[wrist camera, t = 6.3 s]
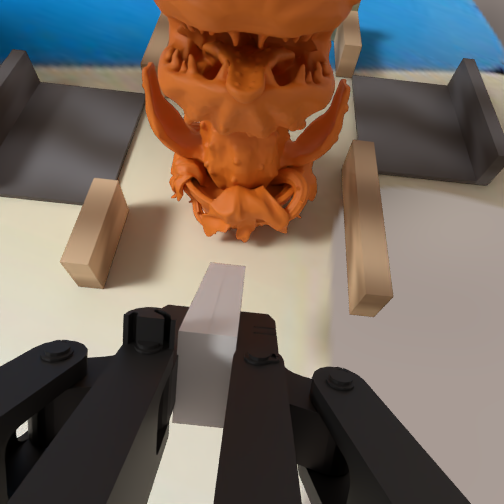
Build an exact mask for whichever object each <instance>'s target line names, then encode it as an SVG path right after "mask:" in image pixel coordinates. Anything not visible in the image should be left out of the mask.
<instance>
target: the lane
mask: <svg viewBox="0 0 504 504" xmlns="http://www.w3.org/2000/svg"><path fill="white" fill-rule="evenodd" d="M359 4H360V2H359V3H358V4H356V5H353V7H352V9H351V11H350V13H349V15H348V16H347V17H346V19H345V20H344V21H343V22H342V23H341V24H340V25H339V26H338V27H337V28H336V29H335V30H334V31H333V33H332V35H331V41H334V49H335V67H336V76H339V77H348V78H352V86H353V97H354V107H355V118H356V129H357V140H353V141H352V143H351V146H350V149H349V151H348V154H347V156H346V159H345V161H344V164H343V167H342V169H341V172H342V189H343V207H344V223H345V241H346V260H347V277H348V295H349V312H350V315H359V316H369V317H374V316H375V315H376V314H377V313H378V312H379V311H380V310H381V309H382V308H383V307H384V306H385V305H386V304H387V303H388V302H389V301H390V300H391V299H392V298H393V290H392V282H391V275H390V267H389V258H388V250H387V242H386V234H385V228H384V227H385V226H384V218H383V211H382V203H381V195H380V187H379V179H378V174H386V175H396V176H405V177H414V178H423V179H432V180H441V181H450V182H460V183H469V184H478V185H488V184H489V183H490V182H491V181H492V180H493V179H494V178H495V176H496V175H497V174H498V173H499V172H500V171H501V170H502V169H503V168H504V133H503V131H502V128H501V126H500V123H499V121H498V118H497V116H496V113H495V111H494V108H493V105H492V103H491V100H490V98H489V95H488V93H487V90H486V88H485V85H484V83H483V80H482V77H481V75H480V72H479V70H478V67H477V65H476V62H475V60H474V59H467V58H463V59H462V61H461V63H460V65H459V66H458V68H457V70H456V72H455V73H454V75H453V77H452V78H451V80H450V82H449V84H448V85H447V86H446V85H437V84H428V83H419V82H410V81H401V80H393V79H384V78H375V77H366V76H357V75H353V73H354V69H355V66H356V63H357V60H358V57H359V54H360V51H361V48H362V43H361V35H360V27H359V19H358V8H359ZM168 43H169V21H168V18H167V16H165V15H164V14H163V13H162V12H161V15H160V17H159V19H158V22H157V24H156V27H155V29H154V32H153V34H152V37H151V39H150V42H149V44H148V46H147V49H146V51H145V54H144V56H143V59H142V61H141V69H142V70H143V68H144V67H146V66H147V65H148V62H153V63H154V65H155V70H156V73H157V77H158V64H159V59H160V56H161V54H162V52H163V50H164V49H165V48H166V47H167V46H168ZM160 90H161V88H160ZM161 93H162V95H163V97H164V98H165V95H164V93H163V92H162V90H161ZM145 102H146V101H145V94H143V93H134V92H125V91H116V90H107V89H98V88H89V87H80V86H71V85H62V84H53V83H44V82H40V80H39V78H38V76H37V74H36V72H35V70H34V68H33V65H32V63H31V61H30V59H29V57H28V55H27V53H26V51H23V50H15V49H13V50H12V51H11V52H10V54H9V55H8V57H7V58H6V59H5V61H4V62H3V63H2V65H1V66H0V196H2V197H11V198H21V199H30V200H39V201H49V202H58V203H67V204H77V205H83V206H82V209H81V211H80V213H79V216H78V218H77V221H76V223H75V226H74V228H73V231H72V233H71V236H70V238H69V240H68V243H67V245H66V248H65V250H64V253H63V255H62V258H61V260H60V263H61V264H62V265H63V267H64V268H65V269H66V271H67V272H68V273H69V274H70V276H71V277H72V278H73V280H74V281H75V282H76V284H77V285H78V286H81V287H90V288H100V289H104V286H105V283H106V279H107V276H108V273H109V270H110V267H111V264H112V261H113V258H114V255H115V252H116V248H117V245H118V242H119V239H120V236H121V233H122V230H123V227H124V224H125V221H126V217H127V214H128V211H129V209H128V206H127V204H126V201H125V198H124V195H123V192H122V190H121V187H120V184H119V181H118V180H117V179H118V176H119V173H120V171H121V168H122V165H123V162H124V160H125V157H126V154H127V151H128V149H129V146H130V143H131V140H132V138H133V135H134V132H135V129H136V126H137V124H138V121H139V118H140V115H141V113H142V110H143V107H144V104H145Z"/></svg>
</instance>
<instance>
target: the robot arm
mask: <svg viewBox="0 0 504 504" xmlns="http://www.w3.org/2000/svg"><path fill="white" fill-rule="evenodd" d="M244 275H245V266H239V265H230V264H221V263H212V262H210V265H209V267H208V269H207V271H206V273H205V275H204V277H203V280H202V282H201V284H200V286H199V288H198V290H197V292H196V294H195V297H194V299H193V301H192V303H191V305H190V307H184V306H175V305H167V306H165V307H163V308H156V307H145V308H137V309H134V310H131V311H128V312H127V313H126V314H124V321H123V345H122V346H121V348H120V349H119V350H118V352H117V353H116V354H115V355H113V356H106V357H93V358H87V352H88V349H87V348H86V347H85V345H84V344H81V343H79V342H76V341H69V340H62V341H61V340H55V341H53V342H49V343H44V344H42V345H39V346H37V347H35V348H33V349H31V350H29V351H27V352H26V353H24V354H22V355H20V356H18V357H17V358H15V359H13V360H11V361H10V362H8V363H6V364H4V365H2V366H1V367H0V504H147V501H148V498H149V495H150V492H151V489H152V486H153V483H154V480H155V476H156V473H157V470H158V467H159V464H160V461H161V458H162V455H163V452H164V448H165V445H166V442H167V439H168V434H169V420H170V417H171V414H172V411H173V421H172V423H180V424H189V425H199V426H209V427H218V428H223V436H222V443H221V451H220V458H219V466H218V473H217V481H216V488H215V496H214V504H302V502H301V494H300V486H299V478H298V471H299V476H300V478H301V481H302V483H303V485H304V488H305V490H306V493H307V495H308V498H309V500H310V502H311V504H471V503H470V502H469V501H468V500H467V499H466V497H465V496H464V495H463V494H462V493H461V492H460V490H459V489H458V488H457V487H456V486H455V485H454V483H453V482H452V481H451V480H450V479H449V478H448V477H447V475H446V474H445V473H444V472H443V471H442V470H441V468H440V467H439V466H438V465H437V464H436V463H435V462H434V460H433V459H432V458H431V457H430V456H429V455H428V454H427V453H426V451H425V450H424V449H423V448H422V447H421V445H420V444H419V443H418V442H417V441H416V440H415V438H414V437H413V436H412V435H411V434H410V433H409V431H408V430H407V429H406V428H405V427H404V426H403V425H402V423H401V422H400V421H399V420H398V419H397V418H396V416H395V415H394V414H393V413H392V412H391V411H390V410H389V408H388V407H387V406H386V405H385V404H384V403H383V401H382V400H381V399H380V398H379V397H378V396H377V395H376V393H375V392H374V391H373V390H372V389H371V388H370V386H369V385H368V384H367V383H366V382H365V381H364V380H363V379H362V378H360V376H358V375H357V374H355V373H353V372H351V371H349V370H347V369H344V368H343V369H342V368H340V367H324V368H320V369H318V370H316V371H315V372H314V374H313V377H312V379H310V378H306V377H303V376H300V375H298V374H295V373H293V372H291V371H289V370H288V369H286V368H285V366H284V360H283V358H282V356H281V355H280V354H278V345H277V336H276V326H275V321H274V320H273V319H272V318H271V317H270V316H269V314H260V313H250V312H241V303H242V294H243V284H244ZM27 420H28V431H27V432H26V433H24V434H23V435H22V436H20V437H18V438H17V437H16V429H17V428H18V427H19V426H20V425H22V424H23V423H24V422H26V421H27ZM297 464H298V470H297Z"/></svg>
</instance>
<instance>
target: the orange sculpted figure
mask: <svg viewBox="0 0 504 504" xmlns="http://www.w3.org/2000/svg"><path fill="white" fill-rule="evenodd" d="M154 1H155V3H156V5H157V6H158V7H159V9H160V10H161V12H162V13H163V14H164V15H165V16H167V18H168V21H169V43H168V46H167V47H166V48H165V49H164V50H163V52H162V54H161V56H160V59H159V64H158V77H157V73H156V70H155V65H154V63H153V62H148V65H147V66H146V67H144V68H143V70H142V81H143V84H142V87H143V88H144V90H145V101H146V114H147V117H148V120H149V123H150V126H151V128H152V130H153V132H154V134H155V135H156V136H157V137H158V139H159V140H160V141H161V142H162V143H163V144H164V145H165V146H166V147H167V148H169V149H170V150H172V151H173V152H175V154H174V159H173V163H172V168H171V174H172V175H173V176H172V177H171V179H170V181H169V183H170V185H171V187H172V190H173V191H174V192H175V194H174V195H173V196H172V197H171V198H176V197H177V200H178V201H180V199H181V198H182V196H183V190H184V191H185V192H186V194H187V195H188V196H189V197H190V198H191V201H189V203H192V204H193V211H194V215H195V217H196V219H197V220H198V221H199V222H200V223H201V225H202V226H203V229H204V232H205V234H206V235H207V236H209V237H210V236H212V235H213V234H216V232H217V231H220V232H224V233H225V232H227V230H228V229H229V230H230V228H233V229H237V231H236V238H237V239H238V240H242V241H243V242H247V240H248V239H249V238H250V234H251V232H253V231H254V230H255V227H258V226H260V225H261V226H263V225H269V226H271V227H272V228H274V229H275V230H277V231H280V232H282V233H287V226H288V224H289V221H291V220H293V219H294V218H295V217H298V218H301V216H300V215H299V213H300V212H301V211H302V210H303V208H304V206H305V205H306V203H307V200H310V201H313V200H314V198H315V195H316V193H317V181H316V177H315V176H314V174H313V173H312V165H313V161H315V160H317V159H318V158H320V157H321V156H322V155H324V154H325V153H326V152H327V151H328V150H330V149H331V147H332V146H333V144H334V143H336V142H337V141H338V135H339V133H340V131H341V129H342V125H343V118H344V114H345V113H346V112H347V111H348V108H349V107H348V104H347V102H348V100H349V95H350V87H349V86H348V85H347V84H346V79H341V80H340V82H339V85H338V87H337V90H336V93H335V95H334V97H333V100H332V103H331V106H330V107H329V109H328V110H327V111H326V112H325V113H324V114H323V115H321V116H319V117H318V118H317V119H315V120H314V121H313V122H312V123H311V124H310V125H309V126H308V127H307V128H306V129H305V130H304V132H303V133H302V134H301V135H300V136H299V137H298V138H297V140H296V141H294V142H293V141H292V140H291V139H290V134H289V133H288V131H289V130H290V131H296V130H301V129H304V128H305V127H306V122H305V119H306V118H307V117H309V116H310V115H312V114H314V113H316V112H318V111H320V110H322V109H324V108H325V107H326V106H327V104H329V102H330V100H331V98H332V96H333V93H334V90H335V80H334V75H333V71H332V68H331V65H330V63H329V51H330V48H331V35H332V33H333V31H334V30H335V29H336V28H337V27H338V26H339V25H340V24H341V23H342V22H343V21H344V20H345V19H346V17H347V16H348V15H349V13H350V11H351V9H352V7H353V5H356V4H358V3H359V2H360V1H361V0H154ZM160 88H161V90H162V92H163V93H164V95H165V96H167V97H168V98H170V99H171V100H173V101H174V102H176V103H177V104H178V105H179V106H180V107H181V108H183V110H184V114H185V115H184V120H183V118H182V117H181V115H180V114H179V112H178V111H177V110H176V109H175V108H174V107H173V106H172V105H171V104H170V103H169V102H168V101H167V100H166V99H165V98H164V97H163V95H162V93H161V90H160ZM198 122H200V123H198ZM293 194H294V195H293ZM292 196H293V198H292V200H291V201H290V203H289V204H288V205H287V206H286V208H283V207H282V206H283V205H284V204H286V203H287V202H288V201H289V200H290V198H291V197H292ZM202 208H203V210H204V211H205V213H203V210H202Z"/></svg>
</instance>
